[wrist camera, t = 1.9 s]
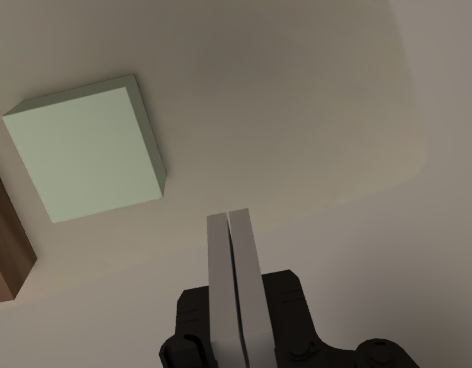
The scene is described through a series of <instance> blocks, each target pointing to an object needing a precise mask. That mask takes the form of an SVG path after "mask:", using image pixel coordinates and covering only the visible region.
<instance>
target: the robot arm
mask: <svg viewBox="0 0 472 368" xmlns="http://www.w3.org/2000/svg"><path fill="white" fill-rule="evenodd" d="M229 216H230V224H231V233H232V238H231V234H230V229H229V224H228V220H227V215H226V213H220V214H215V215H210V216H207V233H208V267H209V268H208V269H209V286H204V287H199V288H193V289H188V290H184V291H183V293H182V294H181V296H180V298H179V300H178V301H177V315H176V327H175V335H173V336H172V337H170V338H169V339H167V340H166V341H165V343H164V344H163V345H162V346H161V349H160V352H159V357H160V359H161V362H162V365H163V368H250V366H251V368H419V366H418V365H417V364H416V363H415V362H414V361H413V360H412V359H411V357H410V356H409V355H408V354H407V353H406V352H405V351H404V349H403V348H401V347H400V346H399V345H398V344H396V343H394V342H392V341H389V340H386V339H377V338H375V339H370V340H366V341H365V342H363V343H361V344H360V345H359V346H358V347H357V349H356V350H355V351H354V350H343V349H338V348H334V347H331V346H329V345H327V344H326V343H324V342H323V341H322V340H321V339H320V338H319V337H318V335H317V333H316V331H315V328H314V324H313V321H312V318H311V315H310V312H309V309H308V306H307V302H306V300H305V296H304V293H303V290H302V286H301V283H300V280H299V278H298V277H297V276H296V275H295V274H294V273H293V272H292V271H291V270H284V271H279V272H274V273H269V274H263V275H261V272H260V267H259V262H258V257H257V251H256V246H255V241H254V236H253V231H252V226H251V221H250V216H249V211H248V208H247V209H242V210H236V211H231V212H229ZM232 241H233V243H232Z"/></svg>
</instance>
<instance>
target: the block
mask: <svg viewBox="0 0 472 368" xmlns="http://www.w3.org/2000/svg"><path fill="white" fill-rule="evenodd" d="M2 119H3V121H4V123H5V125H6V127H7V129H8V131H9V133H10V135H11V137H12V140H13V142H14V144H15V146H16V148H17V150H18V152H19V154H20V156H21V158H22V160H23V163H24V165H25V167H26V169H27V171H28V173H29V175H30V177H31V179H32V181H33V183H34V186H35V188H36V190H37V192H38V194H39V196H40V198H41V200H42V202H43V204H44V206H45V208H46V211H47V213H48V215H49V217H50V219H51V221H52V223H57V222H62V221H66V220H70V219H74V218H79V217H83V216H87V215H92V214H96V213H100V212H105V211H109V210H113V209H117V208H122V207H126V206H130V205H135V204H139V203H143V202H148V201H152V200H156V199H161V198H163V194H164V188H165V182H166V176H167V175H166V172H165V169H164V166H163V163H162V160H161V157H160V154H159V151H158V147H157V144H156V141H155V138H154V135H153V132H152V129H151V126H150V123H149V120H148V117H147V114H146V111H145V108H144V104H143V101H142V98H141V95H140V92H139V89H138V86H137V83H136V80H135V77H134V74H132V75H127V76H123V77H119V78H115V79H111V80H107V81H103V82H99V83H95V84H90V85H86V86H82V87H78V88H74V89H70V90H66V91H62V92H58V93H53V94H49V95H45V96H41V97H37V98H33V99H29V100H25V101H22V102H21V103H19V104H18V105H17V106H15V107H14V108H13V109H11V110H10V111H9V112H7V113H6V114H5V115H3V116H2Z"/></svg>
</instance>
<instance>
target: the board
mask: <svg viewBox="0 0 472 368" xmlns="http://www.w3.org/2000/svg"><path fill="white" fill-rule="evenodd" d="M36 260H37V258H36V256H35V253H34V251H33V249H32V247H31V245H30V243H29V240H28V238H27V236H26V234H25V232H24V229H23V227H22V225H21V223H20V221H19V219H18V216H17V214H16V212H15V210H14V208H13V205H12V203H11V201H10V199H9V197H8V195H7V192H6V190H5V188H4V186H3V184H2V182H1V179H0V302H4V301H10V300H15V298H16V296H17V294H18V292H19V291H20V289H21V287H22V285H23V283H24V282H25V280H26V278H27V276H28V274H29V273H30V271H31V269H32V267H33V266H34V264H35V262H36Z"/></svg>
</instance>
